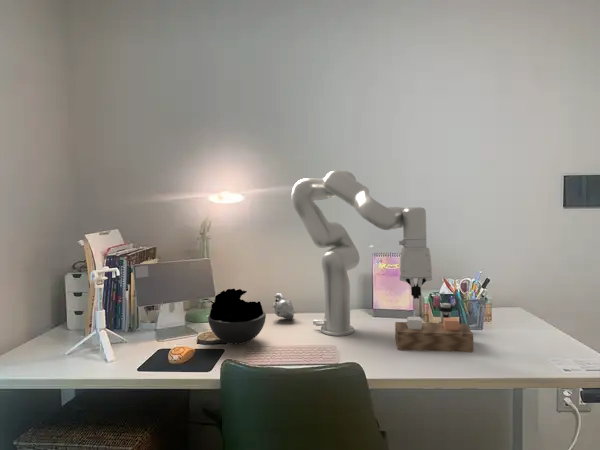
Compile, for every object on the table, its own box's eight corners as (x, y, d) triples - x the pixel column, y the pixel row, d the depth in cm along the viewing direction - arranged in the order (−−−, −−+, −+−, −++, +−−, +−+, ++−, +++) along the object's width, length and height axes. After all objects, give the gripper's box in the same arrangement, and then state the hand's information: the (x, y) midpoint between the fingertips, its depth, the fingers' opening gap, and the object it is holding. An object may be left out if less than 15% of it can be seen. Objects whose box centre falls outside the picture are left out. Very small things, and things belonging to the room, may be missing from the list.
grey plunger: (408, 337, 158) (408, 320, 157) (407, 333, 162) (407, 316, 161) (421, 338, 157) (421, 320, 157) (420, 334, 161) (420, 317, 161)
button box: (397, 349, 155) (397, 332, 154) (395, 338, 166) (395, 321, 166) (473, 352, 151) (473, 333, 151) (465, 340, 163) (465, 323, 163)
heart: (289, 325, 184) (291, 294, 185) (268, 322, 188) (270, 292, 189) (299, 323, 193) (302, 294, 194) (279, 320, 197) (281, 292, 198)
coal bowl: (236, 331, 178) (235, 282, 177) (277, 340, 166) (276, 288, 165) (196, 345, 162) (195, 292, 160) (239, 356, 150) (238, 299, 149)
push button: (454, 328, 178) (454, 302, 177) (458, 332, 173) (458, 305, 172) (436, 328, 178) (437, 302, 178) (439, 332, 173) (440, 305, 172)
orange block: (445, 338, 156) (445, 321, 155) (442, 334, 160) (443, 317, 160) (458, 339, 155) (458, 321, 155) (456, 335, 160) (456, 317, 159)
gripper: (393, 245, 154) (394, 300, 155) (439, 244, 152) (440, 300, 153) (391, 243, 162) (393, 295, 163) (436, 242, 160) (437, 295, 161)
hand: (416, 297), depth 158 cm, fingers closed
